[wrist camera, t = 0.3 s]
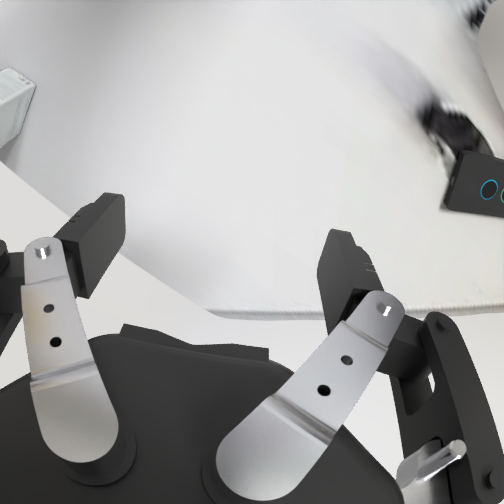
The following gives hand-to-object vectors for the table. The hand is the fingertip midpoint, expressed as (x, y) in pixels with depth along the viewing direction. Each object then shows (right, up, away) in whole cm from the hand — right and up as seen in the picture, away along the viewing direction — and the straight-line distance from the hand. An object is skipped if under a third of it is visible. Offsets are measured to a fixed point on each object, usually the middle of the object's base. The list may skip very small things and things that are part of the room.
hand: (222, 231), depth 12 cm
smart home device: (+35, +8, +20) cm, 42 cm away
